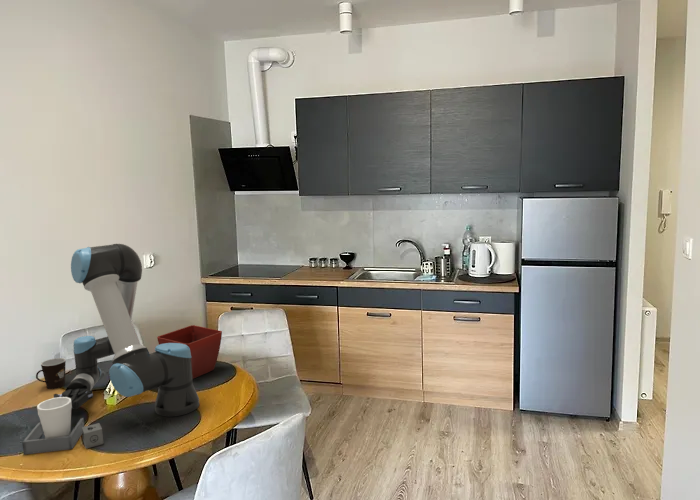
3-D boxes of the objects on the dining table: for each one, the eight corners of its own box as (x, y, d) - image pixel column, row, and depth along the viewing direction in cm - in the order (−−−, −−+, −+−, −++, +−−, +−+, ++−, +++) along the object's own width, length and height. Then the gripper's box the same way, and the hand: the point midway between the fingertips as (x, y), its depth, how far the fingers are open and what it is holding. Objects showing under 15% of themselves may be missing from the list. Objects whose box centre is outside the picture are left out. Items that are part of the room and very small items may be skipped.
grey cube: (83, 442, 167) (81, 427, 166) (100, 437, 169) (99, 422, 169) (85, 448, 163) (84, 433, 162) (103, 443, 165) (102, 428, 165)
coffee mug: (64, 379, 218) (61, 356, 217) (71, 385, 212) (68, 361, 211) (32, 388, 210) (29, 364, 209) (38, 394, 204) (35, 369, 203)
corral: (84, 429, 175) (83, 418, 174) (72, 449, 162) (70, 436, 162) (39, 434, 172) (38, 422, 172) (23, 454, 160) (22, 442, 159)
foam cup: (81, 439, 168) (77, 400, 166) (52, 453, 160) (47, 412, 159) (64, 432, 173) (60, 394, 171) (35, 445, 166) (30, 405, 164)
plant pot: (190, 384, 210) (186, 343, 208) (159, 375, 221) (155, 336, 218) (225, 369, 226) (223, 330, 224) (195, 361, 236) (192, 324, 234)
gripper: (100, 395, 195) (80, 425, 172) (61, 399, 193) (36, 429, 170) (98, 376, 194) (78, 403, 171) (59, 379, 192) (33, 407, 169)
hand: (57, 416), depth 170 cm, fingers closed
